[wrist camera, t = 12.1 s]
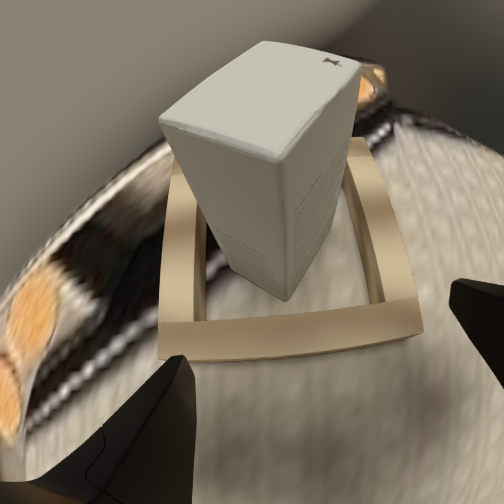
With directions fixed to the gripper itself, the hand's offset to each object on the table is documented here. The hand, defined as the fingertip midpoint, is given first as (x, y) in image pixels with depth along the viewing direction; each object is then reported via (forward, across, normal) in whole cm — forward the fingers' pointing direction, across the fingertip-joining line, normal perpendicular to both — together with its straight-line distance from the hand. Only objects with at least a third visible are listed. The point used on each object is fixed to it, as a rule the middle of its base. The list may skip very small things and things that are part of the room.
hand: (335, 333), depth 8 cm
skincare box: (+11, 0, +1) cm, 11 cm away
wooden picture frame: (+10, 0, +1) cm, 11 cm away
